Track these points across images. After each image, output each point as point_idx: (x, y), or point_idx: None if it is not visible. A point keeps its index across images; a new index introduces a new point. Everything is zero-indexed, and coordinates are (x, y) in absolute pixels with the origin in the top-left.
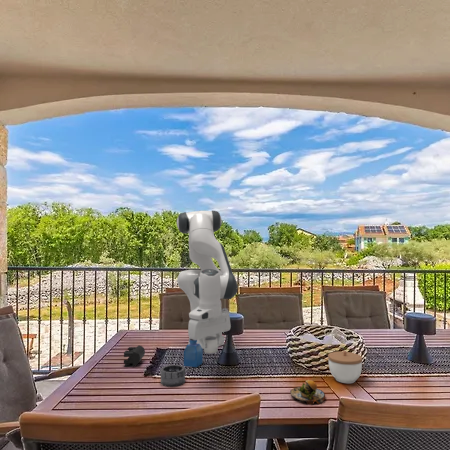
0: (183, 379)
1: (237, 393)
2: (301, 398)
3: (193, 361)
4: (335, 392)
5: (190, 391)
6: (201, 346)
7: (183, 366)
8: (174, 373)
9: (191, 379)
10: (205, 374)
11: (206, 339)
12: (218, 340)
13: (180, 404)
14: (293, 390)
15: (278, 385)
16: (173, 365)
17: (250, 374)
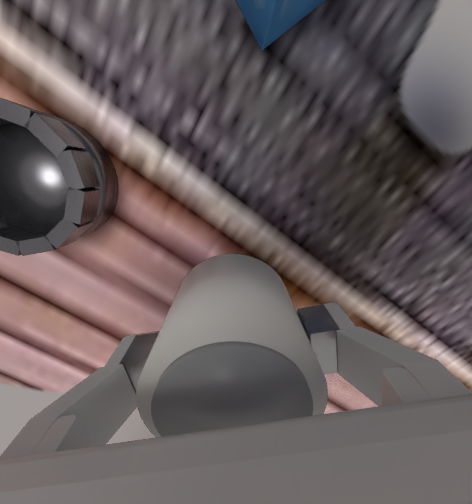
0: (89, 231)
1: None
2: None
3: (253, 4)
4: None
5: (98, 306)
6: (119, 344)
7: (80, 185)
8: (3, 249)
9: (151, 203)
10: (238, 186)
11: (155, 417)
12: (338, 369)
13: (33, 367)
14: None
15: (364, 408)
16: (22, 122)
17: (382, 298)
